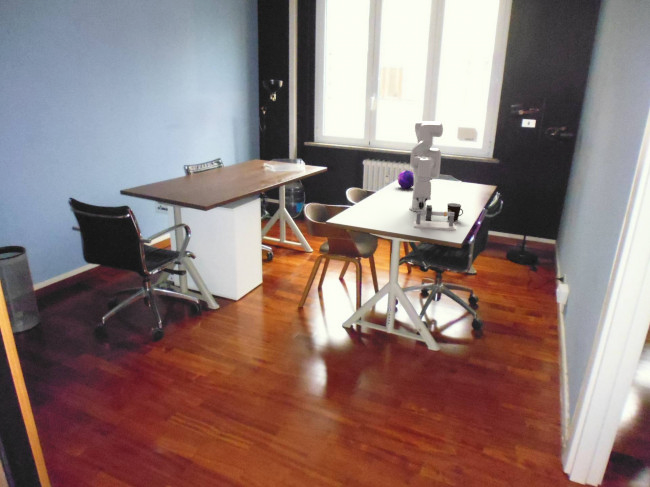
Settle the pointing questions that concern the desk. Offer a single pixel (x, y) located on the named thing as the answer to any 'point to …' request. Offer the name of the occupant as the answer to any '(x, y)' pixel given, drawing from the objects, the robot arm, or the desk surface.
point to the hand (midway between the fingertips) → (420, 208)
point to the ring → (428, 212)
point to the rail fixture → (435, 225)
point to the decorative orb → (406, 179)
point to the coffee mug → (454, 210)
